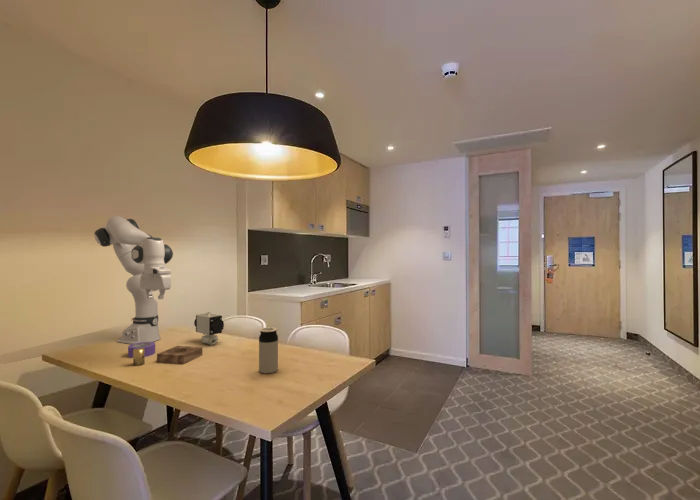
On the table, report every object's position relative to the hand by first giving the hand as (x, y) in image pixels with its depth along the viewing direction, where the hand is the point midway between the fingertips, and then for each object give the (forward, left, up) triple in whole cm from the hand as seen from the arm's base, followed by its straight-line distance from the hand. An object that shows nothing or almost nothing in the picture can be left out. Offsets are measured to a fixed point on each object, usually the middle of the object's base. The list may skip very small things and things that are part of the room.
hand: (155, 298), depth 164 cm
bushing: (0, -10, -29) cm, 30 cm away
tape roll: (-11, +4, -29) cm, 32 cm away
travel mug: (+62, -7, -29) cm, 69 cm away
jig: (+13, +1, -29) cm, 32 cm away
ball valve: (+11, +28, -29) cm, 42 cm away
